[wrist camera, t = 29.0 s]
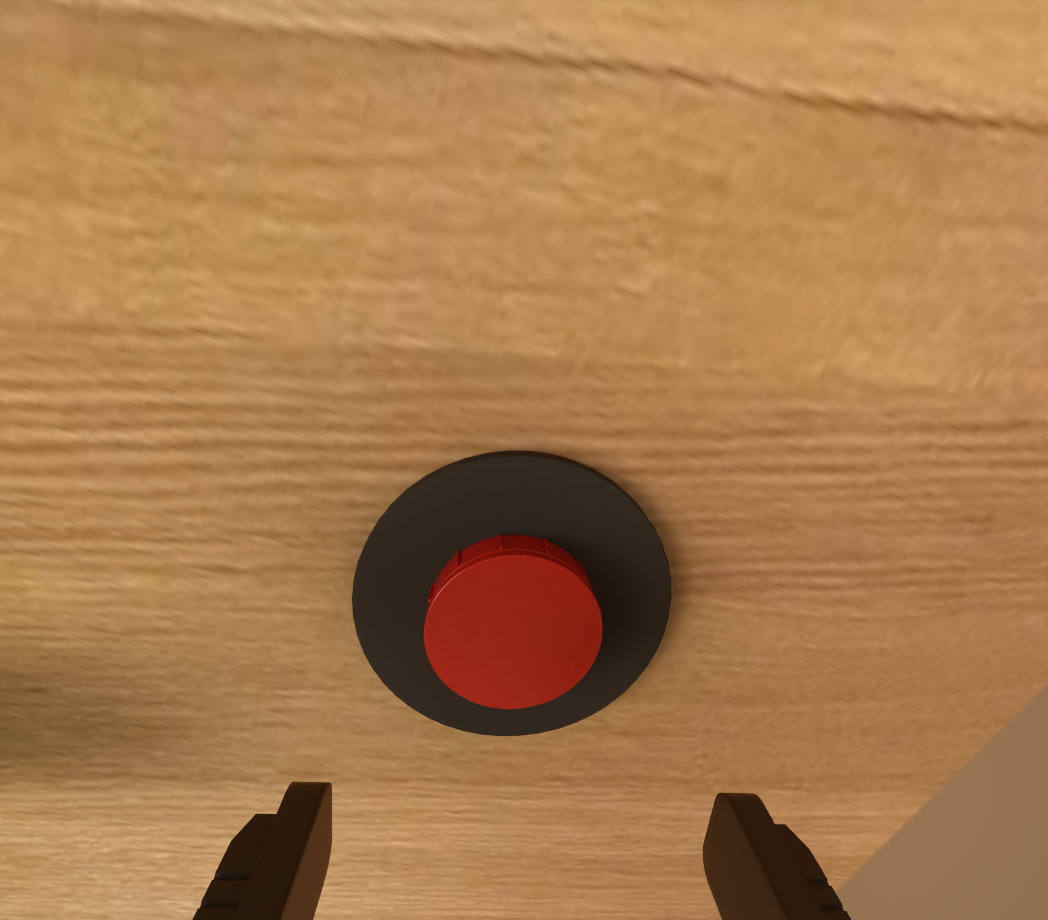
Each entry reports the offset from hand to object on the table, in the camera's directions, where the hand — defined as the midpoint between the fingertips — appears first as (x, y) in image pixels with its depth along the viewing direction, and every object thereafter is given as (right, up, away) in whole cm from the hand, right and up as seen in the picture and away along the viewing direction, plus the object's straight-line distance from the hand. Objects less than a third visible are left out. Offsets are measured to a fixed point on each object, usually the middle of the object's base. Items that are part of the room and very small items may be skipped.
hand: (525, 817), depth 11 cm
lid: (0, +2, +6) cm, 6 cm away
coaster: (0, +2, +8) cm, 8 cm away
